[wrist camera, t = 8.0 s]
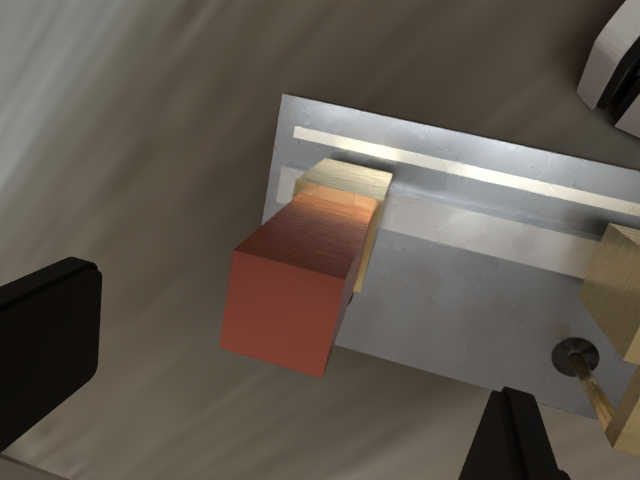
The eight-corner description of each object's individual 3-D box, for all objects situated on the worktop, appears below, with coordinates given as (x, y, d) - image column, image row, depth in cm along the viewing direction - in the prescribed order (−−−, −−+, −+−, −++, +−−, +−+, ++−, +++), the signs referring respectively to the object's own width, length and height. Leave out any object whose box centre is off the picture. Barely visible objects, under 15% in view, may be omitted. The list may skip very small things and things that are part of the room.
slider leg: (359, 309, 28) (299, 512, 15) (301, 293, 28) (193, 476, 15) (394, 169, 25) (359, 264, 12) (329, 154, 25) (227, 229, 12)
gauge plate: (633, 419, 28) (717, 552, 20) (252, 311, 31) (193, 389, 23) (751, 194, 24) (922, 251, 15) (288, 93, 27) (228, 96, 19)
